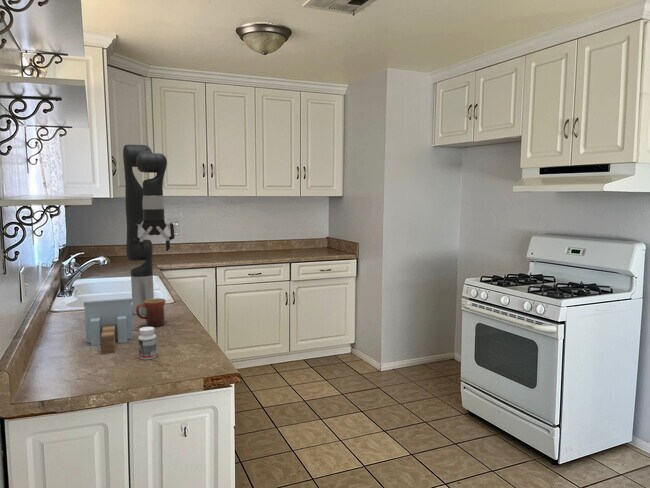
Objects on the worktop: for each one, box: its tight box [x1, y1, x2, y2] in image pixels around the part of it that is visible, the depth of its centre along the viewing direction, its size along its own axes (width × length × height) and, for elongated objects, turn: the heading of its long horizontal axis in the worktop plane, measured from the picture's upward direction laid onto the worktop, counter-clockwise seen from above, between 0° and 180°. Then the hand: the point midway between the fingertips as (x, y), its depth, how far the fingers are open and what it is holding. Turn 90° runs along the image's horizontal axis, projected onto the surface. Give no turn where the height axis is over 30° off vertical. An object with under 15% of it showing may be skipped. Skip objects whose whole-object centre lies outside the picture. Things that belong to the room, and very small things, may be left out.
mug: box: [136, 298, 167, 328], centre depth 204 cm, size 12×9×10 cm
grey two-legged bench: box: [83, 297, 134, 347], centre depth 183 cm, size 6×16×15 cm, turn 110°
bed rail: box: [100, 325, 117, 355], centre depth 177 cm, size 14×4×6 cm, turn 21°
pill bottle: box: [138, 326, 158, 361], centre depth 167 cm, size 6×6×10 cm
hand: (155, 251), depth 185 cm, fingers open, 8 cm apart
